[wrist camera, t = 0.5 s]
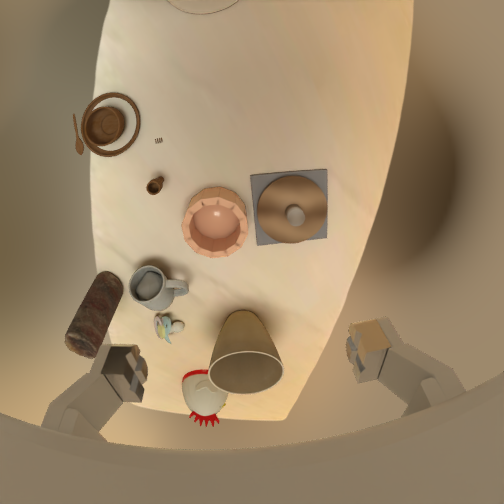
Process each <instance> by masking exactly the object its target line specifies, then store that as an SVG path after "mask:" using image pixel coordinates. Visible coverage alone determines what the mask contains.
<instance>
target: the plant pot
mask: <svg viewBox="0 0 504 504" xmlns="http://www.w3.org/2000/svg"><path fill="white" fill-rule="evenodd" d="M283 375H284V367H283V364H282V362H281V359H280V357H279V354H278V352H277V349H276V347H275V345H274V343H273V341H272V339H271V337H270V335H269V334H268V332H267V330H266V329H265V327H264V326H263V324H262V323H261V321H260V320H259V319H258V317H257V316H256V315H255V314H254V313H252V312H250V311H245V310H242V311H236V312H234V313H232V314H231V315H230V316H229V317H228V319H227V320H226V322H225V324H224V326H223V328H222V330H221V332H220V334H219V336H218V339H217V341H216V344H215V347H214V350H213V353H212V357H211V362H210V366H209V370H208V377H209V380H210V381H211V383H212V384H213V385H214V386H215V387H217V388H218V389H220V390H222V391H225V392H228V393H232V394H239V395H249V394H256V393H260V392H263V391H266V390H268V389H270V388H272V387H274V386H275V385H276V384H277V383H279V381H280V380H281V379H282V377H283Z"/></svg>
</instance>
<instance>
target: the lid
mask: <svg viewBox="0 0 504 504" xmlns="http://www.w3.org/2000/svg"><path fill="white" fill-rule="evenodd" d="M257 215H258V220H259V224H260V226H261V228H262V229H263V231H264V232H265V233H266V234H267V235H268V236H269V237H271V238H272V239H274V240H276V241H279V242H282V243H299V242H302V241H305V240H307V239H309V238H311V237H312V236H313V235H315V234H316V233H317V232H318V231H319V230H320V228H321V227H322V225H323V224H324V222H325V219H326V215H327V201H326V198H325V195H324V193H323V192H322V190H321V189H320V188H319V187H318V186H317V185H316V184H315V183H314V182H313V181H311V180H309V179H307V178H304V177H300V176H287V177H283V178H280V179H278V180H276V181H274V182H272V183H271V184H270V185H269V186H268V187H267V188H266V189H265V190H264V191H263V193H262V194H261V196H260V199H259V201H258V206H257Z"/></svg>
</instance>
